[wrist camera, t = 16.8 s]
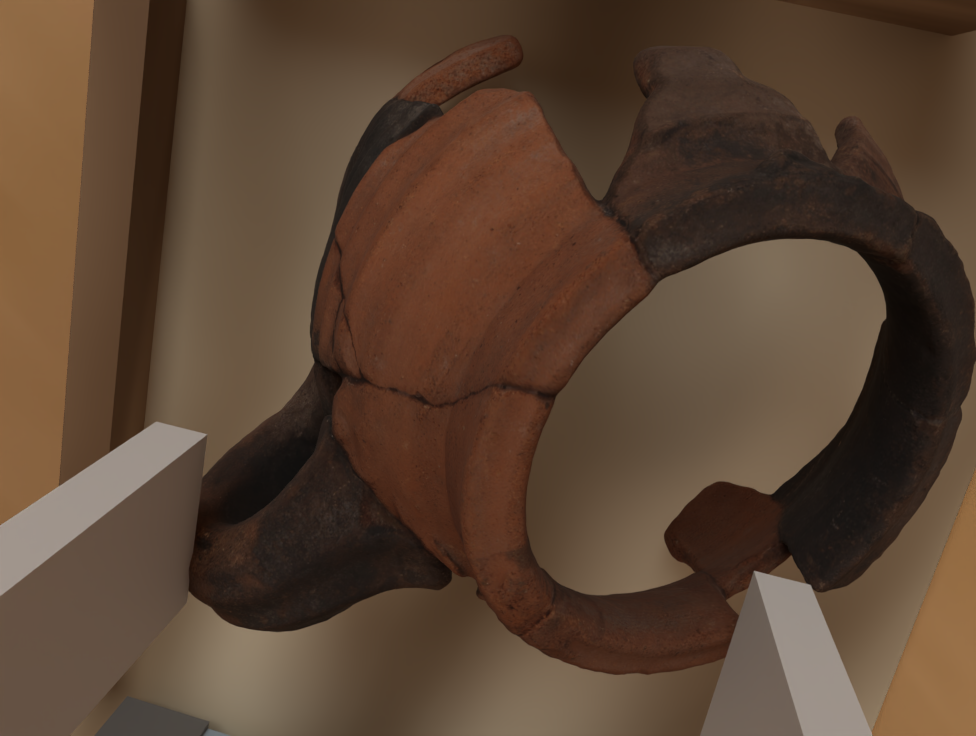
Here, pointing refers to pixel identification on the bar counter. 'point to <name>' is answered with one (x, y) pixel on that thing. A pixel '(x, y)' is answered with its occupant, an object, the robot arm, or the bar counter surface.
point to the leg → (153, 721)
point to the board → (590, 391)
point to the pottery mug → (569, 361)
